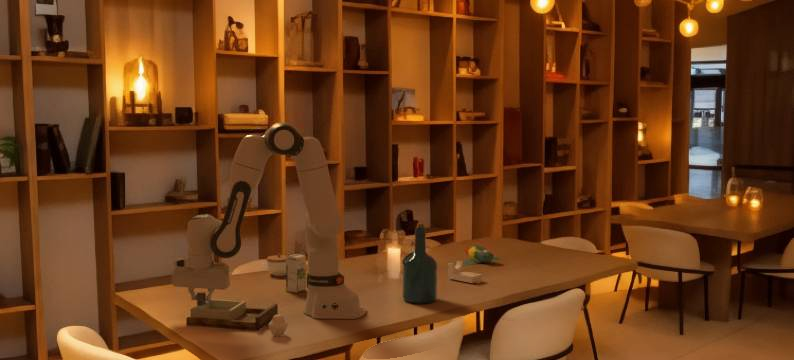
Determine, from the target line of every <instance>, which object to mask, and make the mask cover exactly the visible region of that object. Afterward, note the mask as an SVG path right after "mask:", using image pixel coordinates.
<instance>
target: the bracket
mask: <svg viewBox="0 0 794 360" xmlns="http://www.w3.org/2000/svg"><path fill="white" fill-rule="evenodd" d="M461 261H462V260H461ZM461 261H460V260H457V261H456V262H455V263H456V265H454V263H452V262H448V263H447V279H450V280H453V281H454V280H455V281H460V282H465V283H468V284H469V283H470V284H480V283H482V282H483V275H482V273H478V272H477V273H476V272H471V271H465V270H463V269H464V268H463V267H464V266H463V261H462V262H461Z"/></svg>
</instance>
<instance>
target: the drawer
mask: <svg viewBox="0 0 794 360" xmlns="http://www.w3.org/2000/svg"><path fill="white" fill-rule="evenodd" d="M206 293H207V292H205V291H198V292H196V294H197V300H196V306H194V307H192V308H191V309H190V317H195V318H210V319H224V320H235V319H237V318H238V317H240V316H241V315H243V314H244V313H246V307H247V301H246V300H245V301H244V300H231V299H230V300H229V299H228V300H227V299H215V298H214V299H213V298H211V301H205V296H206V295H207V294H206Z"/></svg>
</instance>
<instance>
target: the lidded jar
mask: <svg viewBox="0 0 794 360" xmlns="http://www.w3.org/2000/svg"><path fill="white" fill-rule="evenodd" d="M287 256H288V255H285V254H284V255H283V254H281V253H277V255H269V256H267V257H266V265H267V269H268V272H270V274H271V275H272V276H273V277H282V276H286V257H287Z"/></svg>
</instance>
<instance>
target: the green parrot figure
mask: <svg viewBox="0 0 794 360" xmlns="http://www.w3.org/2000/svg"><path fill="white" fill-rule="evenodd" d="M463 250H464V252H465V253H466V257H467V256H468V257H469V259H467V260H461V262H463V267H465V266H472V265H478V264H481V263H489V262H495V260H496V261H501V258H500V257H495V255H494V253H492V252H491V251H490V250H488V249H486V248H485V247H484V246H482V245H479V244H475V245H474V246H470V247H469V249H468V248H467V247H465V248H463ZM456 263H457V262H455V263H453V264H454V266H456Z"/></svg>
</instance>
